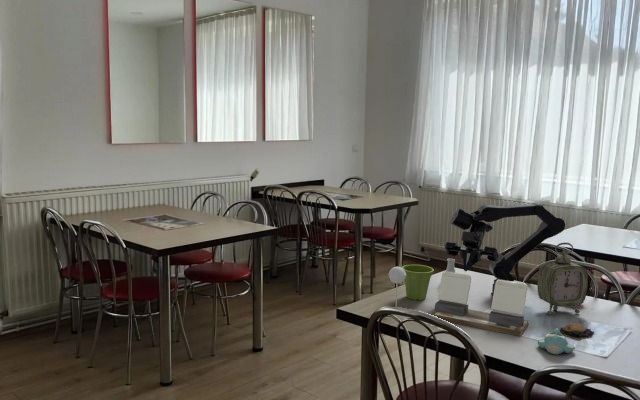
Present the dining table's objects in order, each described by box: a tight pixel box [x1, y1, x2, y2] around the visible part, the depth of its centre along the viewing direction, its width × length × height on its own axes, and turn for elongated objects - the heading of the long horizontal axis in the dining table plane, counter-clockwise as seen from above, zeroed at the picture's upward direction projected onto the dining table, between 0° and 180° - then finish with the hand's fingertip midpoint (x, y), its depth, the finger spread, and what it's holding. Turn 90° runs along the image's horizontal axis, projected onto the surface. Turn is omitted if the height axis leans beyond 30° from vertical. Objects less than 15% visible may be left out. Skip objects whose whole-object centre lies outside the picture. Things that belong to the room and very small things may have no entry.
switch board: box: [428, 300, 529, 337], centre depth 193 cm, size 12×30×4 cm, turn 59°
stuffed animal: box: [536, 327, 576, 355], centre depth 171 cm, size 11×7×12 cm
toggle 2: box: [490, 280, 528, 315], centre depth 189 cm, size 2×10×10 cm, turn 59°
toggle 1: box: [437, 270, 472, 305], centre depth 199 cm, size 2×10×10 cm, turn 59°
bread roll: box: [559, 322, 595, 341], centre depth 184 cm, size 11×8×4 cm
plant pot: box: [401, 264, 434, 301], centre depth 217 cm, size 12×12×11 cm
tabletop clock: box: [537, 242, 589, 316], centre depth 202 cm, size 14×9×25 cm, turn 102°
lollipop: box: [388, 266, 406, 308], centre depth 204 cm, size 6×6×15 cm
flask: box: [445, 258, 457, 273], centre depth 237 cm, size 7×7×10 cm
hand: (465, 270), depth 209 cm, fingers closed
